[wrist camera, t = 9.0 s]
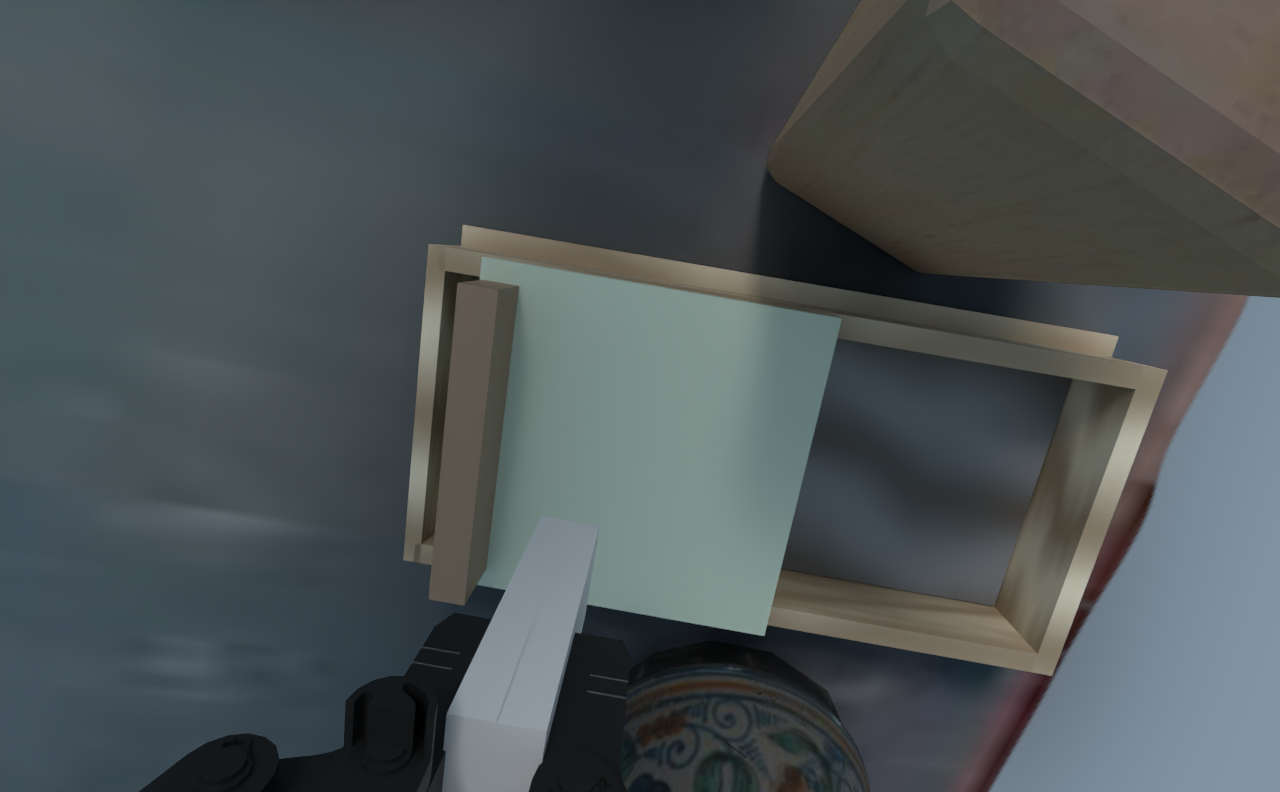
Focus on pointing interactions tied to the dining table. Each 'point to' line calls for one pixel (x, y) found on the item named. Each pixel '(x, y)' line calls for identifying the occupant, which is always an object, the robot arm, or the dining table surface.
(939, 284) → the dining table surface
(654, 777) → the beer stein
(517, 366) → the lid
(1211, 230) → the wooden block
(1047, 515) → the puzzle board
